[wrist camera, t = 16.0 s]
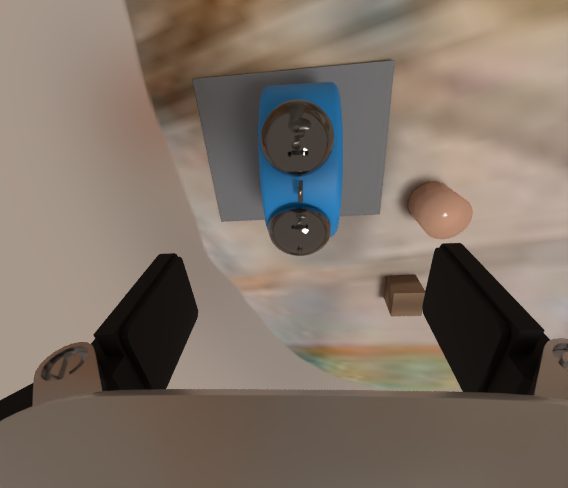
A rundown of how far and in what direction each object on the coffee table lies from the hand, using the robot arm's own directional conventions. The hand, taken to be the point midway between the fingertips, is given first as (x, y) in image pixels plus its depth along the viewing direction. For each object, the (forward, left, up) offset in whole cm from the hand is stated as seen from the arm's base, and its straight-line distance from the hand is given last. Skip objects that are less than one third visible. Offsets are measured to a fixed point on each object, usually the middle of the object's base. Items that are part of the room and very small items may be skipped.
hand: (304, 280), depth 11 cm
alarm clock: (0, 0, -24) cm, 24 cm away
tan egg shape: (+7, +15, -25) cm, 30 cm away
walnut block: (+20, +13, -25) cm, 35 cm away
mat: (0, -1, -25) cm, 25 cm away
